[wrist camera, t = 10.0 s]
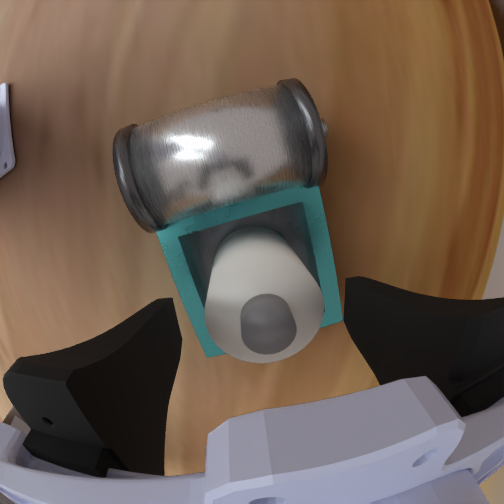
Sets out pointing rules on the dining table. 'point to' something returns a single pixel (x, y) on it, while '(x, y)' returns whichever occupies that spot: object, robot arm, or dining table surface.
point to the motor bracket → (231, 186)
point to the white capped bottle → (261, 298)
